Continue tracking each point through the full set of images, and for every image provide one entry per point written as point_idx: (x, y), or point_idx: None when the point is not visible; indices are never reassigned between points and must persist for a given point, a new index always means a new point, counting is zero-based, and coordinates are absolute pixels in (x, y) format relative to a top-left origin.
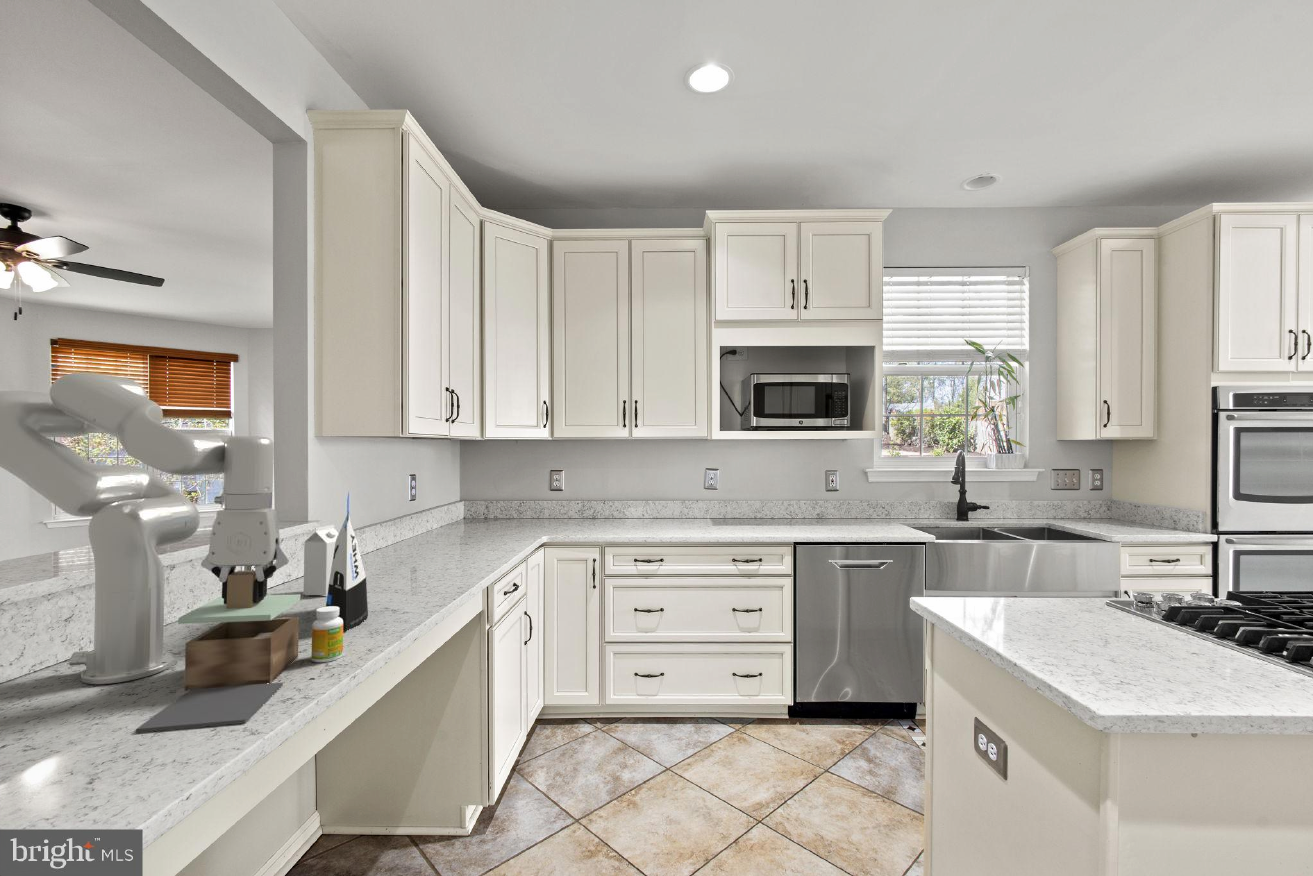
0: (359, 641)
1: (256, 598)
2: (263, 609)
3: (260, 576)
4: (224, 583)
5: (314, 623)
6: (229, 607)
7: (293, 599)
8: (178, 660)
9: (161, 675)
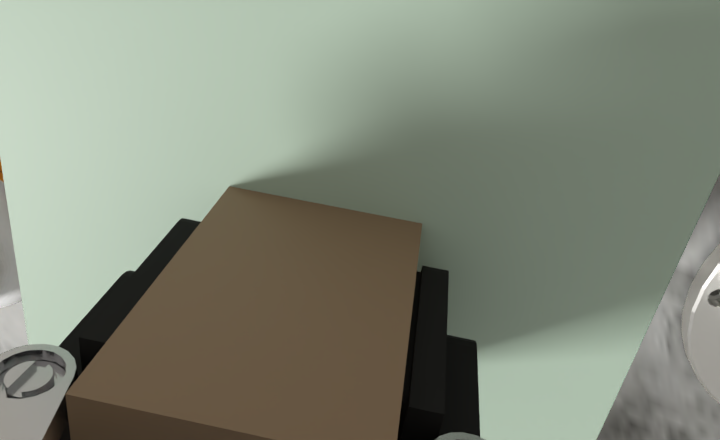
0: (23, 314)
1: (169, 234)
2: (107, 96)
3: (21, 394)
4: (444, 408)
5: (8, 223)
6: (397, 221)
7: (30, 341)
8: (665, 363)
9: (708, 209)
